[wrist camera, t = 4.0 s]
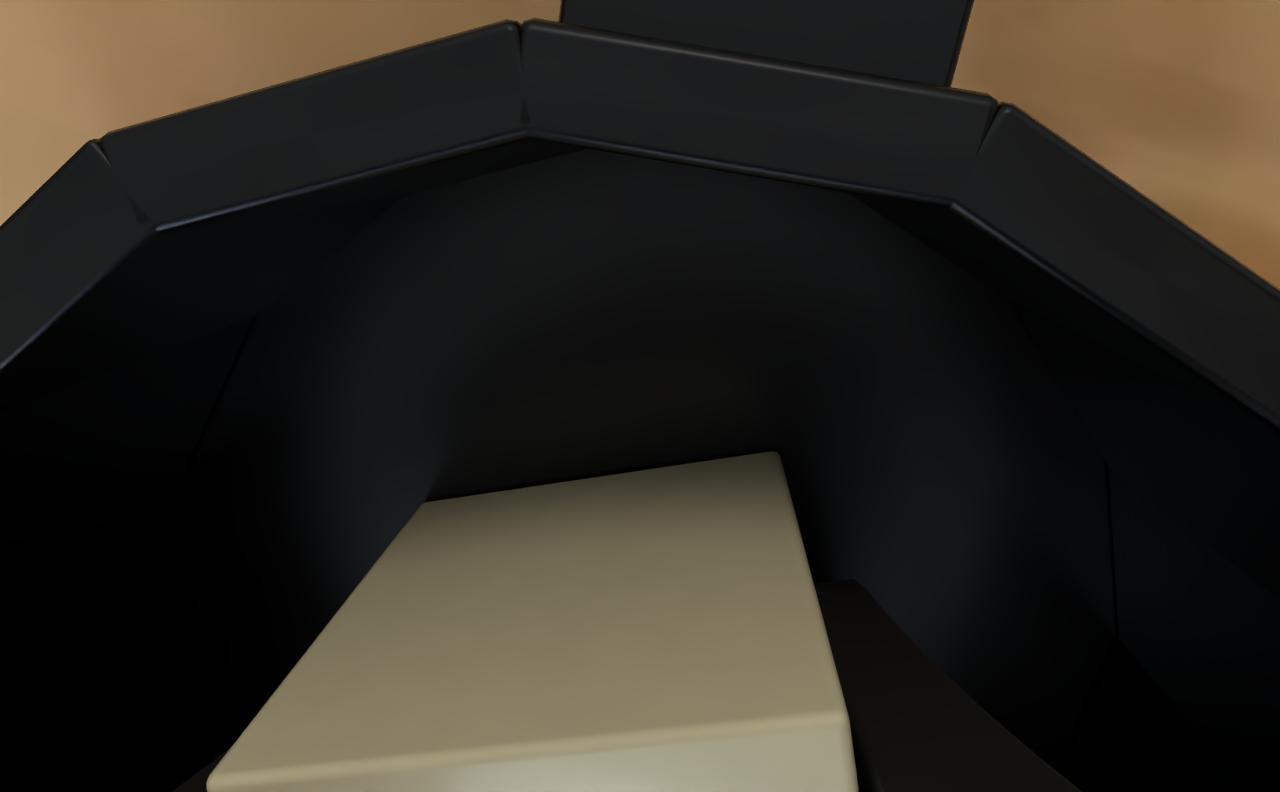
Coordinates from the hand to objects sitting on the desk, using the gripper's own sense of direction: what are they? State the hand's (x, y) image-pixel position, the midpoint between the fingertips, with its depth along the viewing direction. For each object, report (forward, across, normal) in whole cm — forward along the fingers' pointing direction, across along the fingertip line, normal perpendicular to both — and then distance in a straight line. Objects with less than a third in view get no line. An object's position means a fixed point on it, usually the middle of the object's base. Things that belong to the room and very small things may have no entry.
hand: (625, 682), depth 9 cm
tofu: (+1, 0, 0) cm, 1 cm away
